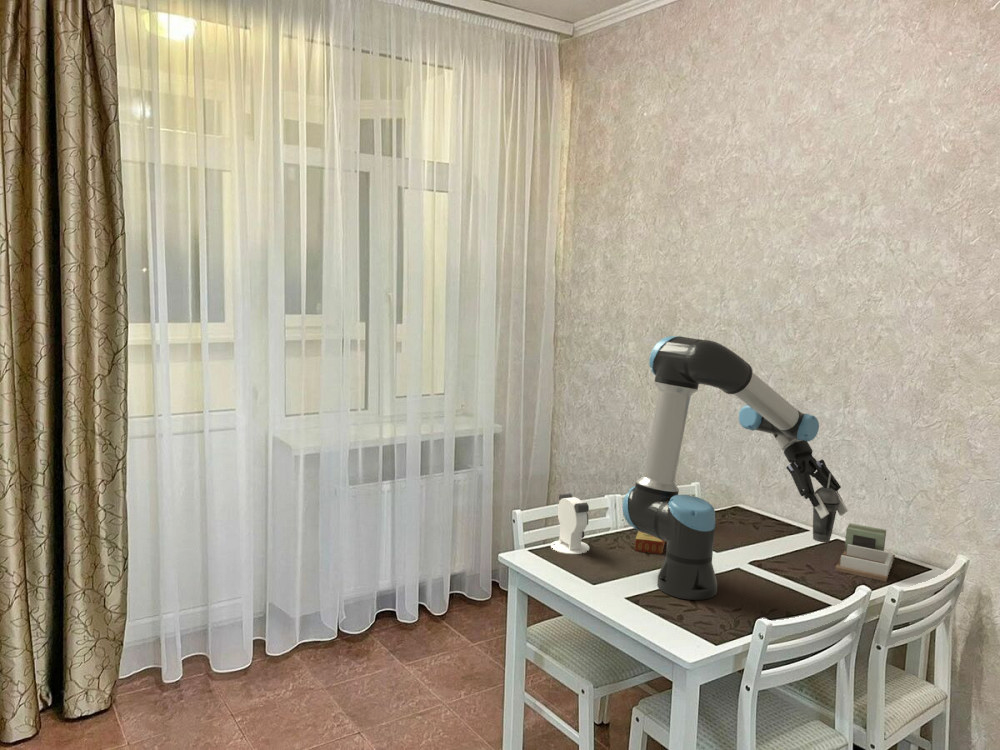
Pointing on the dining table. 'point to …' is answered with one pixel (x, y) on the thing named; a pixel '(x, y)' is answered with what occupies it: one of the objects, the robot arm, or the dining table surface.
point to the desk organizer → (867, 539)
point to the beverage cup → (825, 525)
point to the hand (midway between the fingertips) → (834, 514)
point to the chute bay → (865, 564)
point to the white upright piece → (571, 525)
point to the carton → (648, 543)
